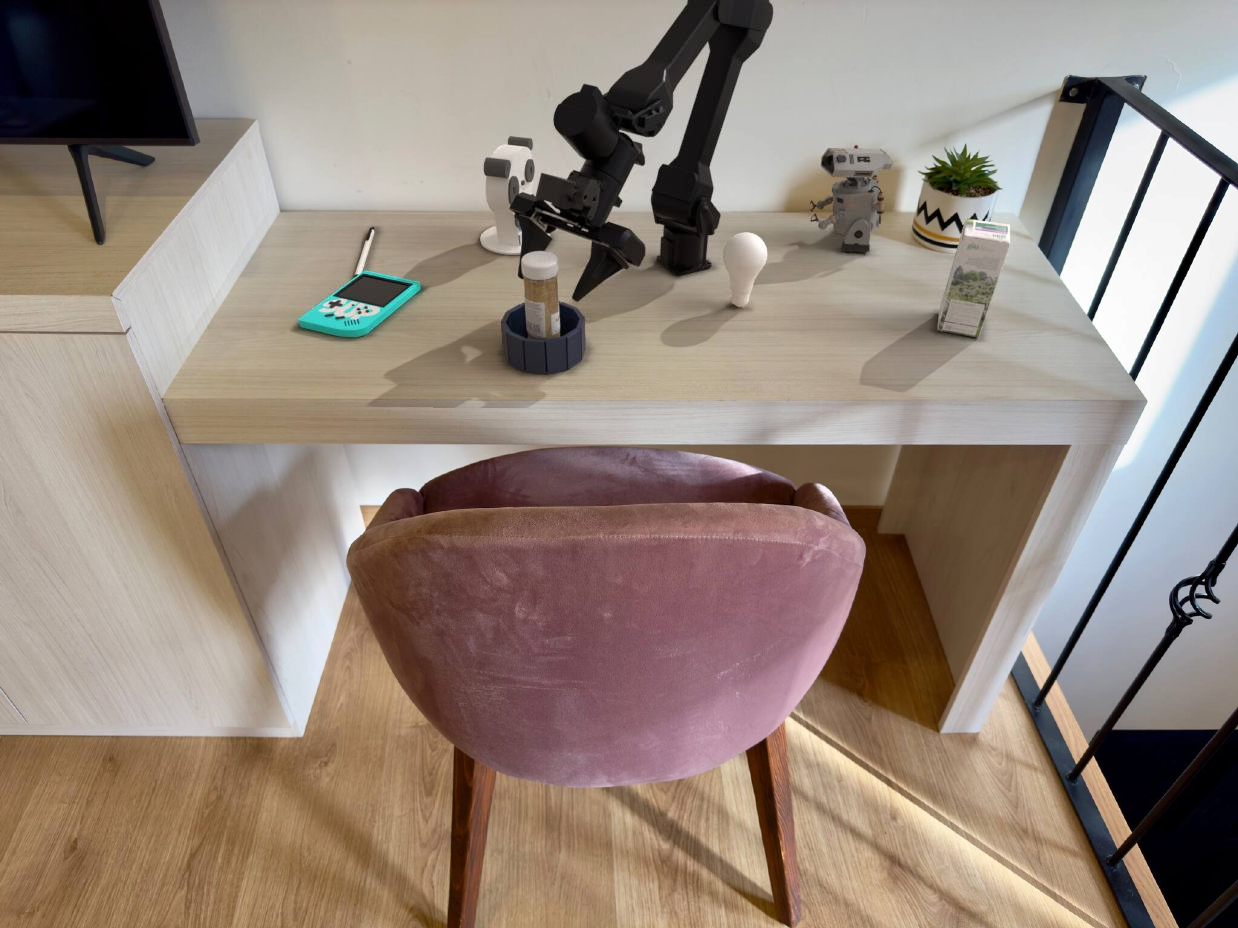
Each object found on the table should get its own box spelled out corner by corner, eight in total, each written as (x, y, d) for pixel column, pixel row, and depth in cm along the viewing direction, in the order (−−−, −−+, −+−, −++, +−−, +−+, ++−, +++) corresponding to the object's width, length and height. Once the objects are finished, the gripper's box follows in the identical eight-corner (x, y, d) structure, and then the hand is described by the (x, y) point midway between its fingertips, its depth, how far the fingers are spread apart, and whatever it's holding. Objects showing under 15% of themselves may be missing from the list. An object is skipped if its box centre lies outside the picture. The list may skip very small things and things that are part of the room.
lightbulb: (765, 301, 125) (775, 230, 118) (752, 320, 120) (762, 247, 113) (726, 292, 127) (733, 221, 120) (711, 311, 122) (718, 239, 115)
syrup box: (980, 319, 121) (1011, 222, 112) (979, 340, 117) (1011, 240, 108) (938, 312, 123) (965, 215, 113) (936, 332, 118) (964, 234, 109)
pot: (541, 323, 119) (540, 292, 116) (600, 348, 114) (600, 317, 111) (487, 355, 113) (484, 323, 110) (547, 383, 108) (546, 351, 105)
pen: (376, 230, 142) (375, 223, 142) (359, 285, 128) (357, 278, 127) (370, 230, 142) (369, 224, 142) (353, 285, 128) (351, 278, 127)
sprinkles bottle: (568, 354, 113) (564, 260, 104) (537, 364, 111) (532, 269, 102) (550, 338, 116) (546, 246, 107) (521, 348, 114) (514, 255, 105)
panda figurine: (534, 260, 134) (528, 166, 124) (467, 251, 136) (457, 157, 127) (559, 229, 143) (556, 138, 133) (496, 220, 145) (488, 131, 135)
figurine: (802, 227, 144) (816, 137, 135) (871, 231, 143) (890, 140, 134) (805, 251, 137) (820, 158, 128) (878, 255, 136) (898, 162, 127)
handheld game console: (297, 326, 118) (295, 318, 117) (364, 276, 129) (363, 268, 129) (358, 341, 115) (357, 332, 114) (422, 288, 127) (421, 280, 126)
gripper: (514, 128, 106) (458, 241, 106) (634, 163, 97) (572, 287, 97) (558, 172, 115) (507, 276, 116) (670, 208, 107) (615, 321, 107)
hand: (547, 289), depth 109 cm, fingers open, 9 cm apart
